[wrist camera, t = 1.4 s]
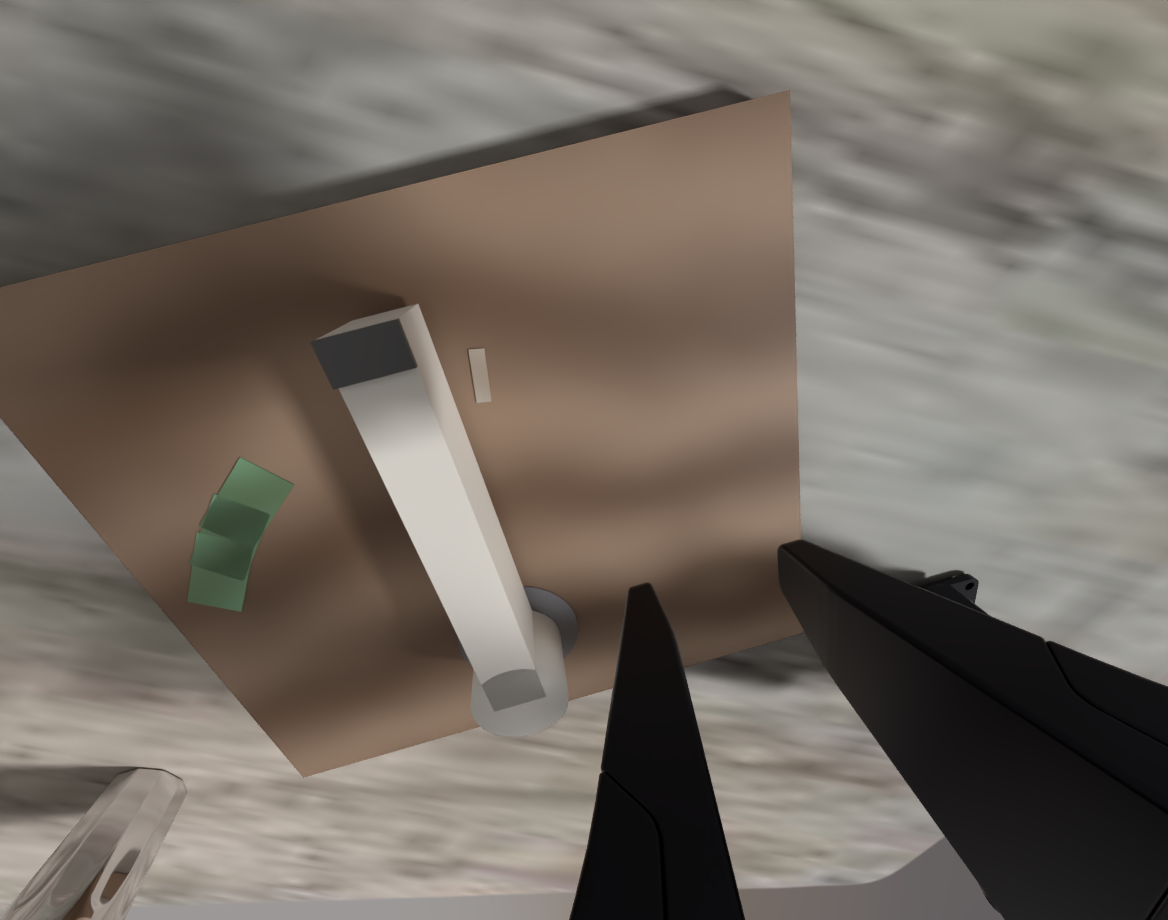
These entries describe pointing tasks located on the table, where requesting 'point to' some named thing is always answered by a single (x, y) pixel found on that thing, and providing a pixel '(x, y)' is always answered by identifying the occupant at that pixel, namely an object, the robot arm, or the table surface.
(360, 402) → the peg lever
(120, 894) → the milkshake
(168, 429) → the plate
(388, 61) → the table surface
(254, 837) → the table surface
